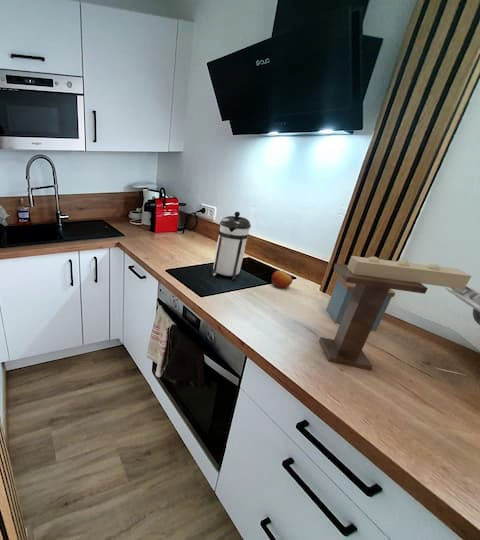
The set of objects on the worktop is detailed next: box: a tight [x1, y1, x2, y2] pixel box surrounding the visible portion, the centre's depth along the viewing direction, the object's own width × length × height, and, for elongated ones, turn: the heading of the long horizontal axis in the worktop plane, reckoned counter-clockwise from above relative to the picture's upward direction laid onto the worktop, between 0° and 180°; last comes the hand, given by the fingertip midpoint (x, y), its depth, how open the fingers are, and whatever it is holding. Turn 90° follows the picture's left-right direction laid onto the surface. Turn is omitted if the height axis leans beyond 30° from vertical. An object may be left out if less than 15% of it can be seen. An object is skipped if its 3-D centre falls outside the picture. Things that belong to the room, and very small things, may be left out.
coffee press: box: [210, 211, 252, 282], centre depth 131 cm, size 17×16×30 cm
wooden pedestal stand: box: [318, 263, 429, 371], centre depth 79 cm, size 16×10×26 cm, turn 70°
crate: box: [326, 273, 396, 331], centre depth 99 cm, size 13×11×14 cm
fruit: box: [271, 270, 293, 289], centre depth 124 cm, size 8×8×8 cm
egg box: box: [347, 255, 472, 289], centre depth 71 cm, size 22×4×5 cm, turn 70°
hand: (459, 287), depth 69 cm, fingers open, 8 cm apart
